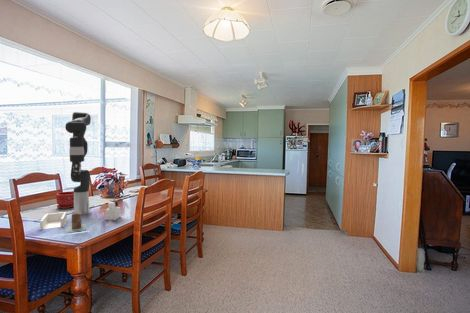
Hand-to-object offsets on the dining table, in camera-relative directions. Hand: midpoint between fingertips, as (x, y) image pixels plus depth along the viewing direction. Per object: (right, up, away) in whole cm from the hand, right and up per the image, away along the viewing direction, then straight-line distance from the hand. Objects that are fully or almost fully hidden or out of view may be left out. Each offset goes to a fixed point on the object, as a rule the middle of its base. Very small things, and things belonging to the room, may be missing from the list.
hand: (77, 179), depth 143 cm
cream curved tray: (-16, -29, +1) cm, 34 cm away
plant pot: (-39, -27, +43) cm, 64 cm away
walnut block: (+2, -29, -4) cm, 29 cm away
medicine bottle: (+13, -30, +18) cm, 37 cm away
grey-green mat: (+2, -30, -4) cm, 30 cm away
